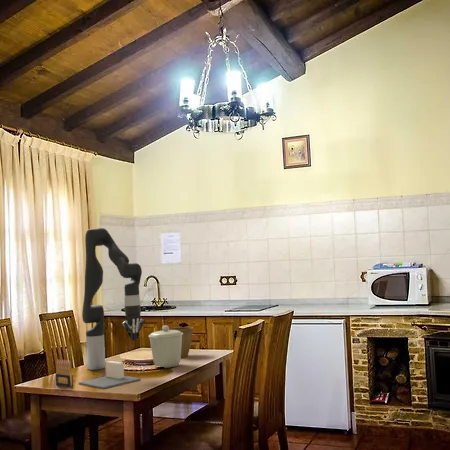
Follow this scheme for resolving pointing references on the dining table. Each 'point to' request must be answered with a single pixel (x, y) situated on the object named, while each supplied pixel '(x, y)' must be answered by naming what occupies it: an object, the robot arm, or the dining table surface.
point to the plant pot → (185, 339)
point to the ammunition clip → (64, 373)
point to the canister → (166, 347)
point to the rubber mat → (108, 382)
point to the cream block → (114, 369)
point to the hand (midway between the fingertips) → (134, 340)
